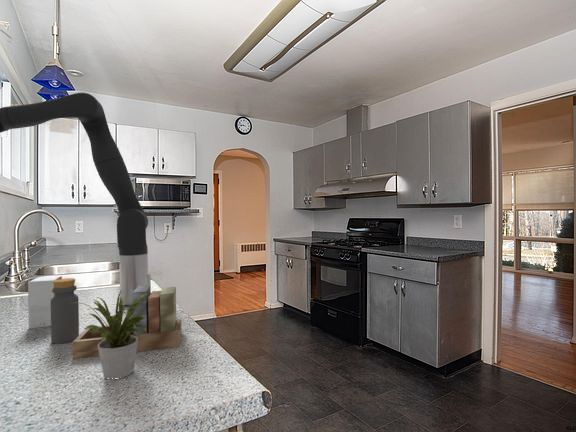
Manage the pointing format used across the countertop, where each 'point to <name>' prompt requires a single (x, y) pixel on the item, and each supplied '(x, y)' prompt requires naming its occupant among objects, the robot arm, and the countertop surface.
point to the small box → (40, 301)
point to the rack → (158, 322)
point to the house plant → (117, 338)
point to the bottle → (64, 312)
